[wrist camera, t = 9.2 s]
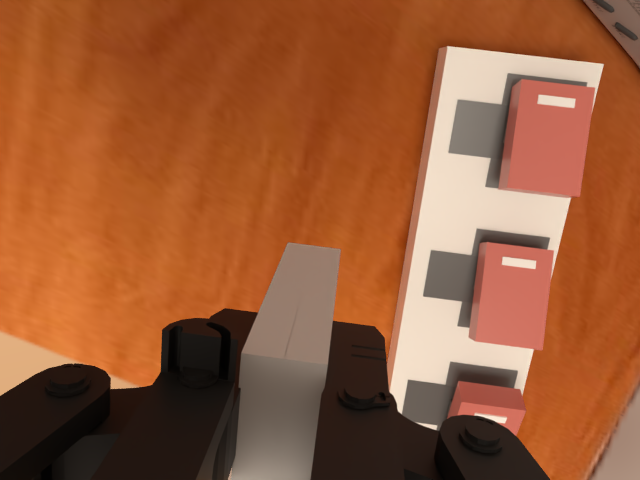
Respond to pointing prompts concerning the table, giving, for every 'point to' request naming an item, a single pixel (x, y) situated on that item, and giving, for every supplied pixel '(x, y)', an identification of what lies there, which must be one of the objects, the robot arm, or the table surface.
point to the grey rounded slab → (620, 22)
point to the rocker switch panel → (467, 228)
